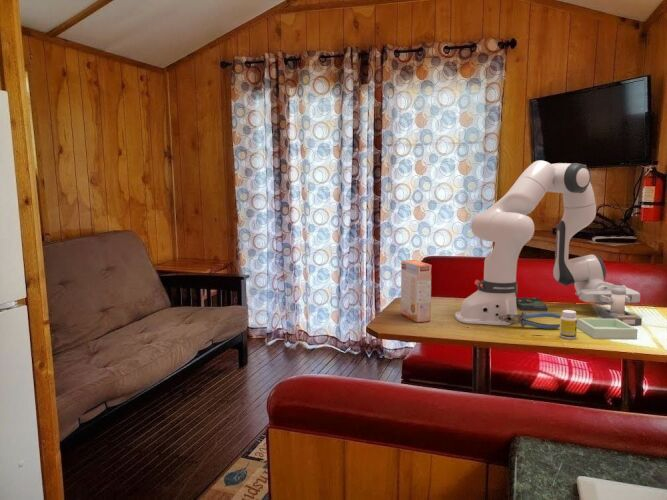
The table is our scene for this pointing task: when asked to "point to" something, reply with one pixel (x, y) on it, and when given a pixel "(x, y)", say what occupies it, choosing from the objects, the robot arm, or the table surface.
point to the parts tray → (606, 328)
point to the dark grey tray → (622, 317)
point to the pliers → (521, 320)
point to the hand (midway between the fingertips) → (619, 300)
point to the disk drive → (530, 304)
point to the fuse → (618, 300)
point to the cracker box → (416, 290)
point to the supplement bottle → (568, 324)
